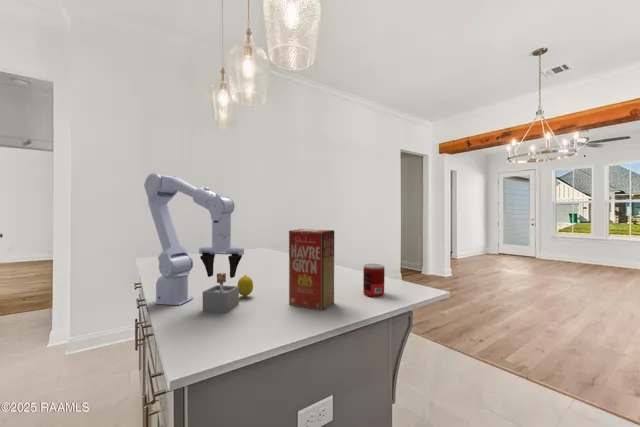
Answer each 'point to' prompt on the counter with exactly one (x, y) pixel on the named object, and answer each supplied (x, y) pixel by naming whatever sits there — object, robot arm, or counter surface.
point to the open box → (220, 299)
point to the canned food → (373, 280)
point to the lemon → (245, 285)
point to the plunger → (221, 282)
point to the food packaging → (311, 268)
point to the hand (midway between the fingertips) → (221, 276)
